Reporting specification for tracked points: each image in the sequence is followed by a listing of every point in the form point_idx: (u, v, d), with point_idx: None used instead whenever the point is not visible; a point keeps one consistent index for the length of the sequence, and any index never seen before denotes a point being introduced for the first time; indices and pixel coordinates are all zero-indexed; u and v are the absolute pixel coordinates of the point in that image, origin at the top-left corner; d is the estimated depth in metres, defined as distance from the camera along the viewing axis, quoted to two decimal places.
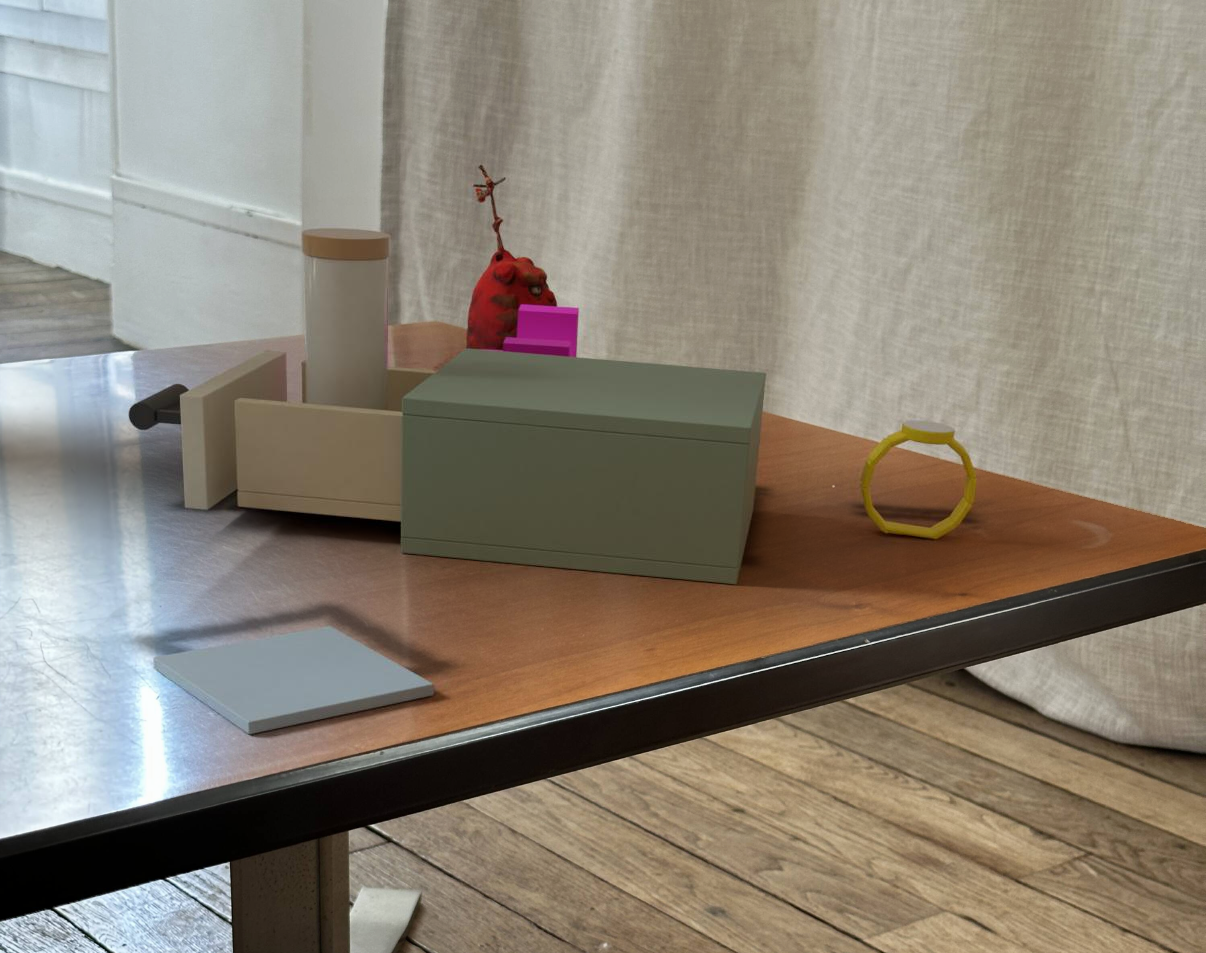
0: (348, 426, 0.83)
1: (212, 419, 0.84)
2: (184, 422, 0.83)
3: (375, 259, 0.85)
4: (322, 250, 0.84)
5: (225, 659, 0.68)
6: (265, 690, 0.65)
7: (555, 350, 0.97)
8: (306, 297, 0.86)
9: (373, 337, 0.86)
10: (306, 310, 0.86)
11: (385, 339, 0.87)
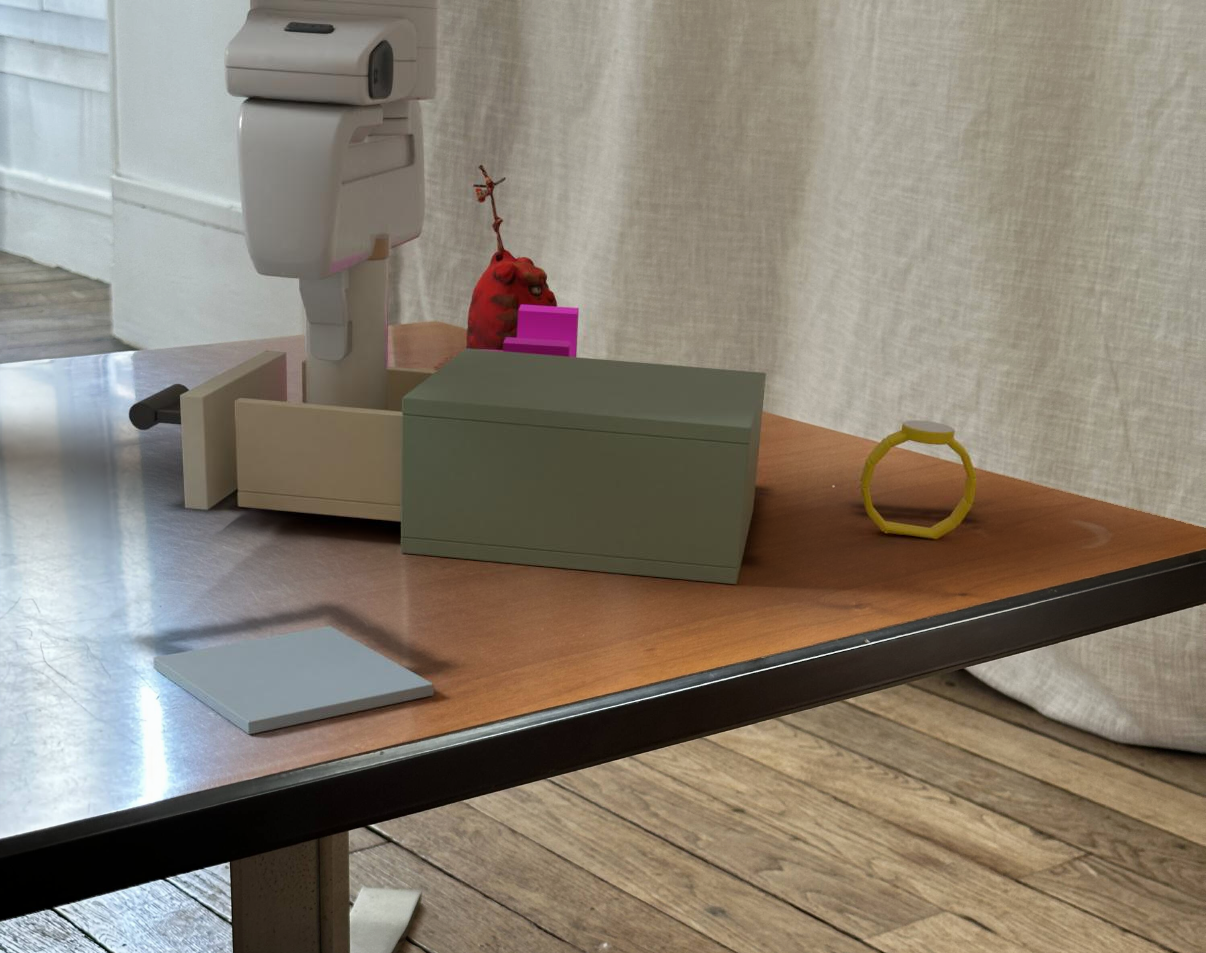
0: (348, 426, 0.83)
1: (212, 419, 0.84)
2: (184, 422, 0.83)
3: (375, 259, 0.85)
4: None
5: (225, 659, 0.68)
6: (265, 690, 0.65)
7: (555, 350, 0.97)
8: None
9: (373, 337, 0.86)
10: None
11: (385, 339, 0.87)
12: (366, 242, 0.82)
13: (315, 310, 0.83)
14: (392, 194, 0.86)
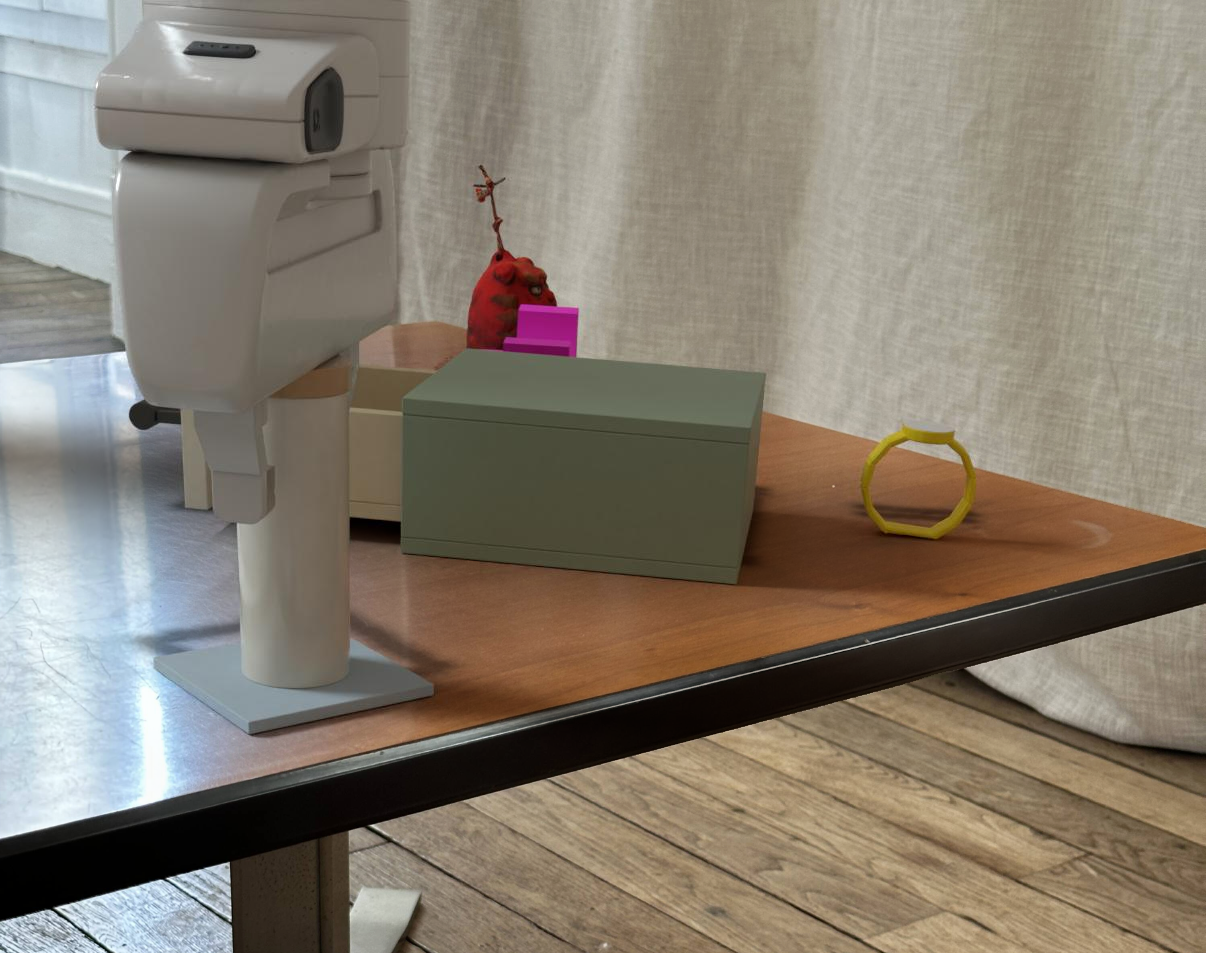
0: None
1: None
2: (184, 422, 0.83)
3: (330, 396, 0.61)
4: None
5: (225, 659, 0.68)
6: (265, 690, 0.65)
7: (555, 350, 0.97)
8: None
9: (328, 499, 0.63)
10: None
11: (345, 500, 0.64)
12: (308, 348, 0.59)
13: (219, 455, 0.58)
14: (349, 275, 0.63)
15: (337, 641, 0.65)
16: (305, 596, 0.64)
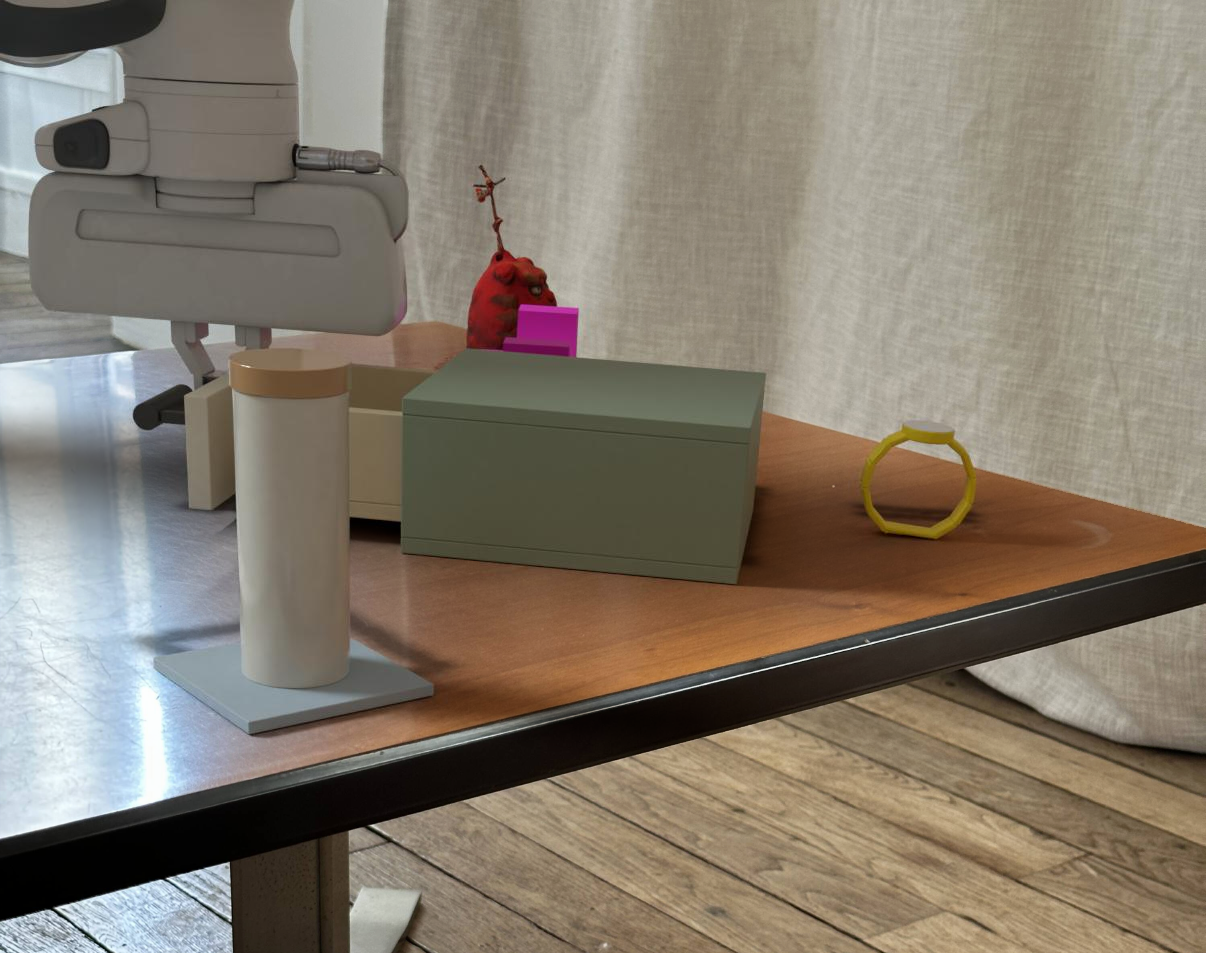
0: (352, 426, 0.83)
1: (216, 419, 0.84)
2: (188, 423, 0.83)
3: (330, 396, 0.61)
4: (255, 385, 0.60)
5: (225, 659, 0.68)
6: (265, 690, 0.65)
7: (555, 350, 0.97)
8: (236, 446, 0.62)
9: (328, 499, 0.63)
10: (236, 463, 0.63)
11: (345, 500, 0.64)
12: (156, 301, 0.91)
13: None
14: (251, 273, 0.90)
15: (337, 641, 0.65)
16: (305, 596, 0.64)
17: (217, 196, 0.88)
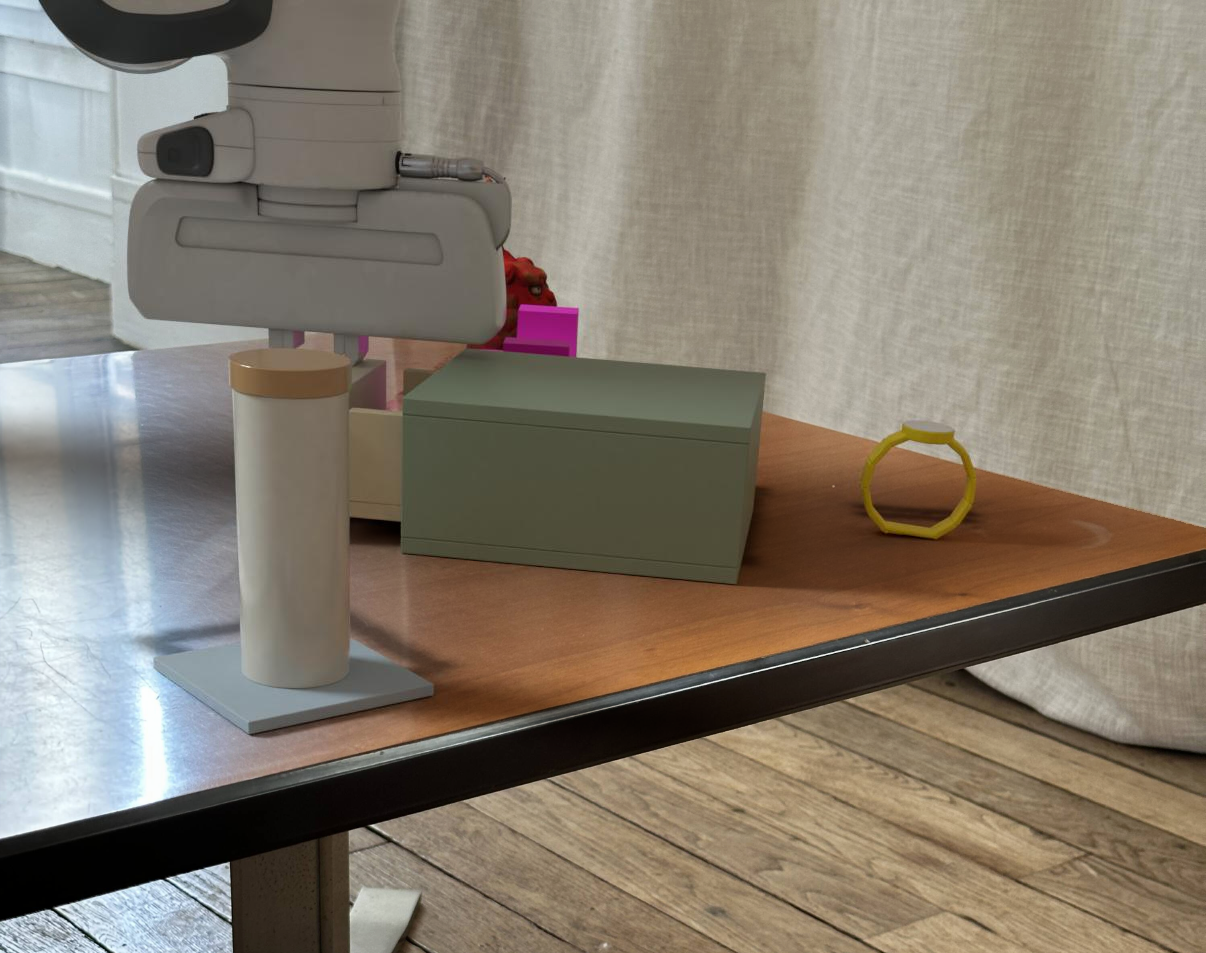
0: None
1: None
2: None
3: (330, 396, 0.61)
4: (255, 385, 0.60)
5: (225, 659, 0.68)
6: (265, 690, 0.65)
7: (555, 350, 0.97)
8: (236, 446, 0.62)
9: (328, 499, 0.63)
10: (236, 463, 0.63)
11: (345, 500, 0.64)
12: (255, 309, 0.91)
13: None
14: (352, 281, 0.90)
15: (337, 641, 0.65)
16: (305, 596, 0.64)
17: (321, 204, 0.87)
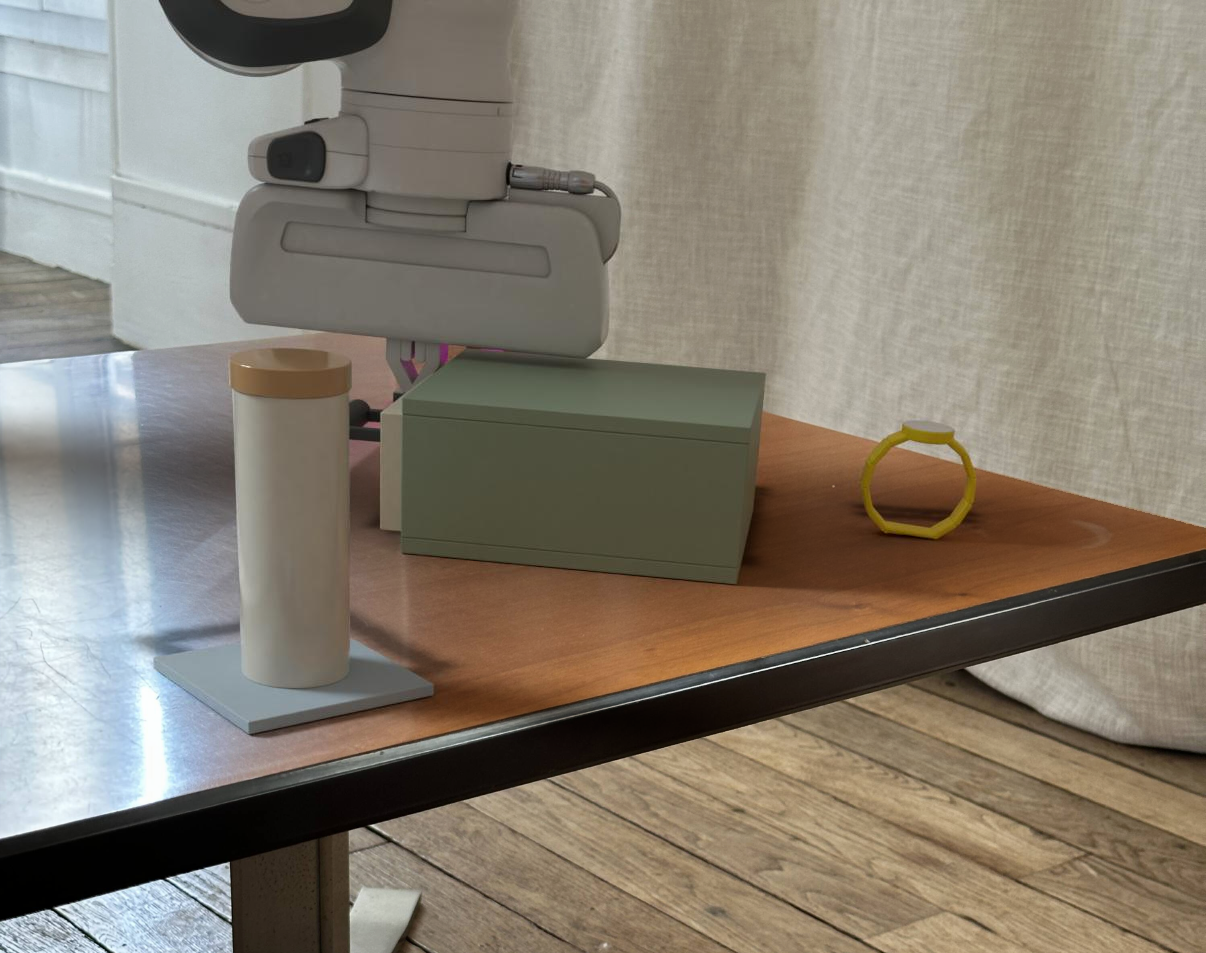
0: None
1: None
2: (384, 440, 0.82)
3: (330, 396, 0.61)
4: (255, 385, 0.60)
5: (225, 659, 0.68)
6: (265, 690, 0.65)
7: None
8: (236, 446, 0.62)
9: (328, 499, 0.63)
10: (236, 463, 0.63)
11: (345, 500, 0.64)
12: (358, 316, 0.90)
13: None
14: (457, 291, 0.89)
15: (337, 641, 0.65)
16: (305, 596, 0.64)
17: (431, 213, 0.86)
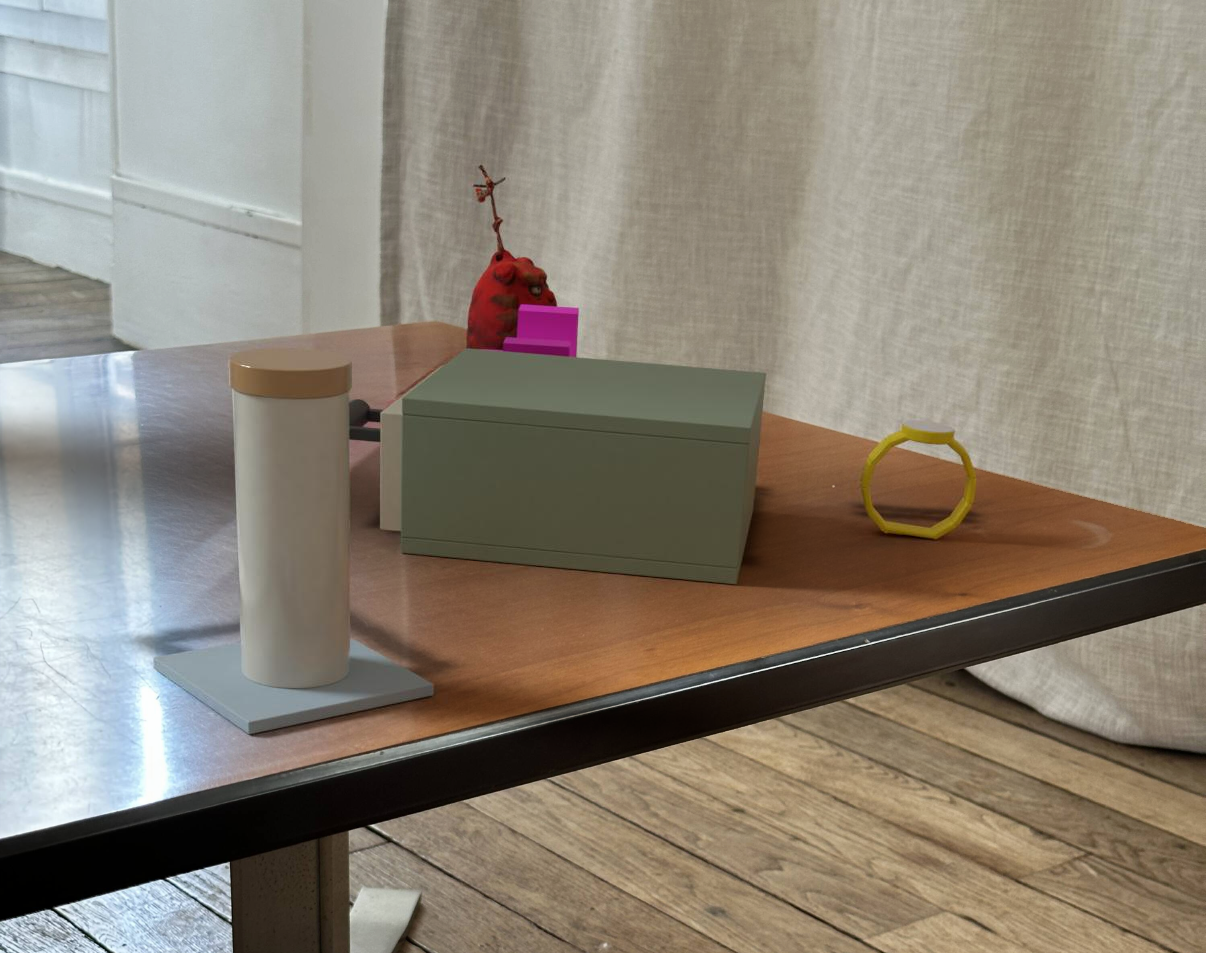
0: None
1: None
2: (384, 440, 0.82)
3: (330, 396, 0.61)
4: (255, 385, 0.60)
5: (225, 659, 0.68)
6: (265, 690, 0.65)
7: (555, 350, 0.97)
8: (236, 446, 0.62)
9: (328, 499, 0.63)
10: (236, 463, 0.63)
11: (345, 500, 0.64)
12: None
13: None
14: None
15: (337, 641, 0.65)
16: (305, 596, 0.64)
17: None
